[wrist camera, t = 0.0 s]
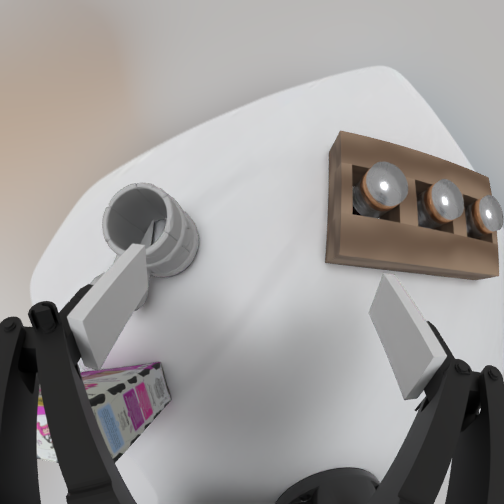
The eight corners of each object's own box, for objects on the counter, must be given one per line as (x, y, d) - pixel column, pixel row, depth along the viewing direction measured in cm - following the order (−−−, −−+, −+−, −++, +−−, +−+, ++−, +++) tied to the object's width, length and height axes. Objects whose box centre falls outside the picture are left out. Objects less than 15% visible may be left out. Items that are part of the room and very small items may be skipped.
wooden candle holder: (475, 280, 31) (498, 276, 26) (325, 262, 31) (339, 255, 26) (468, 189, 33) (488, 177, 28) (329, 152, 33) (340, 130, 28)
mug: (211, 223, 31) (192, 177, 20) (173, 324, 29) (130, 335, 17) (151, 202, 32) (109, 153, 20) (114, 297, 30) (52, 291, 18)
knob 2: (441, 232, 29) (466, 221, 24) (412, 226, 29) (437, 214, 24) (438, 198, 30) (461, 183, 25) (410, 190, 30) (432, 174, 25)
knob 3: (480, 241, 29) (505, 233, 24) (460, 236, 29) (485, 227, 24) (477, 210, 30) (500, 199, 25) (457, 203, 30) (480, 190, 25)
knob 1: (387, 222, 29) (410, 208, 24) (350, 215, 29) (369, 199, 24) (386, 185, 30) (406, 166, 25) (350, 177, 30) (367, 156, 25)
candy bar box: (160, 358, 28) (84, 403, 12) (173, 399, 28) (113, 473, 12) (80, 369, 28) (-14, 398, 12) (92, 406, 27) (9, 455, 11)
